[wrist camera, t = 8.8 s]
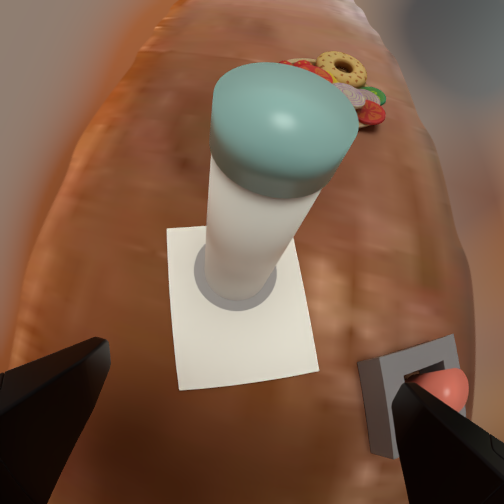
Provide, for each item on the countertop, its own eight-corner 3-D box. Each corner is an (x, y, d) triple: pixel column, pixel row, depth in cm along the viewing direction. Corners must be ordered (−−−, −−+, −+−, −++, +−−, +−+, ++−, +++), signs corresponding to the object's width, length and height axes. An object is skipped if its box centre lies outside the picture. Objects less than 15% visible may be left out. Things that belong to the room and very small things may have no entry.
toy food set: (345, 68, 36) (353, 50, 33) (399, 135, 31) (412, 116, 28) (254, 66, 32) (259, 44, 29) (300, 141, 28) (310, 117, 25)
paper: (318, 371, 19) (319, 370, 19) (179, 390, 17) (179, 390, 17) (288, 222, 23) (289, 220, 23) (167, 230, 22) (166, 228, 21)
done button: (433, 407, 18) (470, 405, 14) (402, 420, 17) (439, 423, 13) (427, 369, 19) (464, 362, 15) (396, 380, 18) (433, 376, 15)
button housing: (441, 421, 19) (466, 421, 16) (370, 452, 17) (393, 459, 14) (429, 341, 21) (453, 333, 19) (357, 362, 20) (379, 357, 17)
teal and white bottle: (273, 298, 21) (379, 160, 8) (206, 305, 20) (219, 155, 7) (262, 238, 22) (332, 70, 10) (200, 242, 21) (209, 60, 9)
